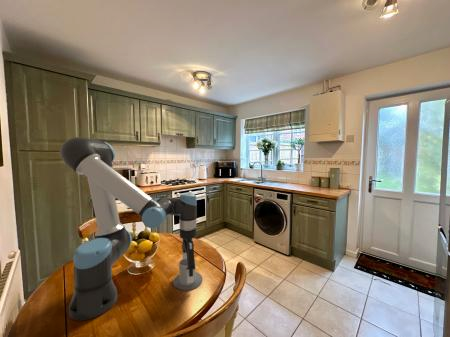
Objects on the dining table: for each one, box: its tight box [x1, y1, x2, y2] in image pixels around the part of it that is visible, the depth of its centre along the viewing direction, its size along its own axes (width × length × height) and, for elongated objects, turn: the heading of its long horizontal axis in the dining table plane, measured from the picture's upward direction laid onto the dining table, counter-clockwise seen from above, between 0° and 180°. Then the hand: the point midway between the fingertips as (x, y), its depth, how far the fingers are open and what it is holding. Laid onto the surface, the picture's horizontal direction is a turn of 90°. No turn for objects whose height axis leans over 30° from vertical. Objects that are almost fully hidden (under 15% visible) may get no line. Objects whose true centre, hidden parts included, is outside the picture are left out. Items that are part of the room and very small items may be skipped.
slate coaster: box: [173, 271, 203, 291], centre depth 87 cm, size 13×13×1 cm
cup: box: [178, 258, 197, 286], centre depth 87 cm, size 7×10×9 cm
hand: (187, 273), depth 87 cm, fingers open, 13 cm apart
